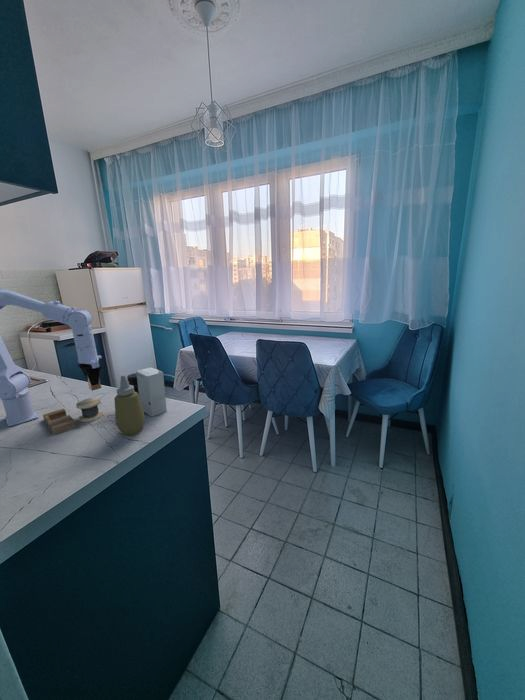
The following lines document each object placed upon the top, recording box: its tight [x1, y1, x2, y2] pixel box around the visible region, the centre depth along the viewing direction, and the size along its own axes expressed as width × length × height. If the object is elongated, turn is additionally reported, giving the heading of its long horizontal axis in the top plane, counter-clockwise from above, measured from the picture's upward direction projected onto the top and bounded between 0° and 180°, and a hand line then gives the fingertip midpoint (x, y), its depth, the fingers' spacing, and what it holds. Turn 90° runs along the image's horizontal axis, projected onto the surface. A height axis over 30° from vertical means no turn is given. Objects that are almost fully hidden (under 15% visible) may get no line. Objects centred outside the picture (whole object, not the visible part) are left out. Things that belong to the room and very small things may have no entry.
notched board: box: [42, 408, 77, 435], centre depth 95 cm, size 14×6×2 cm, turn 46°
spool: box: [75, 397, 104, 423], centre depth 98 cm, size 7×7×6 cm
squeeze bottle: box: [113, 374, 146, 437], centre depth 86 cm, size 8×8×18 cm
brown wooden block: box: [86, 374, 102, 391], centre depth 101 cm, size 3×3×6 cm
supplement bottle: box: [126, 373, 139, 395], centre depth 104 cm, size 7×7×12 cm
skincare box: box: [136, 366, 168, 417], centre depth 100 cm, size 8×6×15 cm
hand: (93, 383), depth 101 cm, fingers closed on brown wooden block, 3 cm apart
